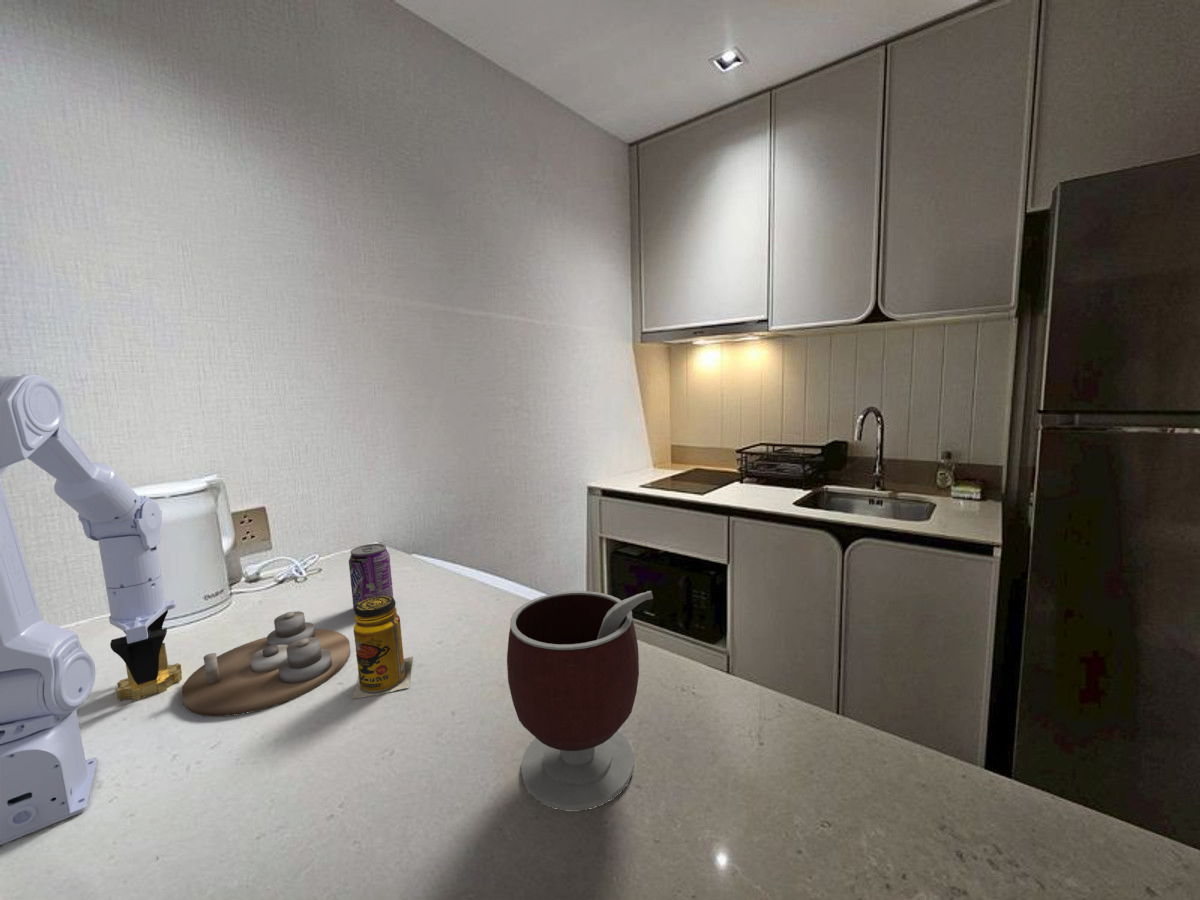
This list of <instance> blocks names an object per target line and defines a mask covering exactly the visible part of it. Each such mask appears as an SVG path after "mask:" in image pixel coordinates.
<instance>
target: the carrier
mask: <svg viewBox="0 0 1200 900" xmlns="http://www.w3.org/2000/svg"><path fill="white" fill-rule="evenodd" d="M273 624H274V630H272V631H270V633H269V634H268V635H267V636H265V637H262V638H259V639H255V640H252V641H250V642H247V643H244V644H242V645H238V646H236V647H235V648H232V649H229V650H228V651H225V652H224V653H221V654H219V655H218V656H217V653H216V652H212V653H211V652H210V653H208V654H205V655H204V656H203V665H201V666H200V667H199V668H197V669H196V670H195V671H194V672H192V674H191V675H190V676H188V678H187V679H186V680H185V682H184V683H183V684H182V685H183V686H182V688H181V697H182V698H181V699H182V703H183V706H184V708H185V707H186V708H185V709H186V710H187V709H188V710H187V711H189V712H190V711H191V712H190V713H193V714H195V713H196V714H195V715H198V714H199V715H200V716H204V717H227V715H230V716H237V715H236V714H238V715H243V714H242V713H244V714H248V713H247V712H249V713H253V712H252V711H254V712H258V711H261V709H262V710H265V709H268V708H272V707H274V706H277V705H281V704H283V703H287V702H288V701H291V700H293V699H296V698H299V697H300V696H302V695H305V694H307V693H309V692H311V691H312V690H314V689H316V688H317V687H320V686H321V685H323V684H324V683H326V682H327V681H329V680H330V679H332V678H333V677H334V676H335V675H336V674H338V673H339V672H340V671H341V670H342V669H343V668H344V666H345V665H346V664H347V663H348V662H349V659H350V657H351V645H350V640H349V638H348V637H347V636H346V635H345V634H343V633H341V632H338V631H336V630H331V629H322V628H315V625H314V623H312V622H308V621H306V619H305V613H304V612H303V611H299V610H298V611H289V612H288V611H287V612H285V613H283V614H280V615H278V616H277V617H275V618H274V619H273ZM257 710H258V711H257ZM234 714H235V715H234ZM199 715H198V716H199ZM225 715H226V716H225Z"/></svg>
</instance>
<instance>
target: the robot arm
mask: <svg viewBox="0 0 1200 900" xmlns="http://www.w3.org/2000/svg"><path fill="white" fill-rule="evenodd" d="M65 405H66V404H65V401H64V399H63V398H62V396H61V393H60V392H59V390H58V389H57V387H55V386H54V385H53V384H52V383H51V382H50V381H49V380H48V379H46V378H45V377H43V376H42V375H38V374H33V373H31V374H30V373H28V374H20V375H11V376H10V375H9V376H7V375H6V376H5V375H1V376H0V846H1V845H4V844H6V843H9V842H11V841H14V840H17V839H18V838H21V837H24V836H26V835H28V834H31V833H32V834H33V833H35V832H36V831H39V830H41V829H44V828H46V827H49V826H51V825H53V824H56V823H58V822H61V821H64V820H66V819H68V818H70V817H73V816H76V815H78V814H81V813H83V812H84V811H86V809H87V808H88V806H89V802H90V801H89V800H90V796H91V793H92V787H93V783H94V779H95V776H96V775H95V774H96V770H97V765H98V761H99V760H98V757H91V758H88V759H86V757H85V750H84V746H83V740H82V735H81V733H82V732H81V728H80V722H79V718H78V711H77V709H79V708H80V707H81V706H82V705H83V703H84V702H85V701H86V700H87V698H88V697H89V695H90V694H91V692H92V690H93V687H94V684H95V679H96V664H95V661H94V659H93V658H92V656H91V655H90V654H89V653H88V652H87V651H86V650H85V649H84V648H83V646H82V644H81V641H80V639H79V635H78V633H77V632H74V631H71V630H69V629H66V628H64V627H60V626H58V625H54V624H52V623H49V622H47V621H44V619H43V618H42V614H41V611H40V607H39V603H38V601H37V597H36V593H35V591H34V590H35V589H34V586H33V583H32V580H31V576H30V574H29V570H28V569H29V568H28V567H27V563H26V560H25V556H24V553H23V549H22V546H21V544H20V543H21V541H20V540H19V537H18V532H17V529H16V525H15V523H14V519H13V515H12V513H11V508H10V506H9V503H8V498H7V496H6V495H7V494H6V492H5V489H4V488H5V487H4V486H3V483H2V475H3V474H4V472H5V471H6V470H7V468H9V466H12V465H13V464H17V463H19V462H21V461H24V460H26V459H28V460H29V461H30V462H31V463H34V464H35V465H36V466H37V467H39V468H40V469H42V470H43V471H45V472H46V473H47V474H49V475H50V476H51V477H53V478H55V479H56V480H55V482H54V486H53V490H54V493H55V494H56V496H58V497H59V498H60V499H61V500H62V501H63V502H65V503H66V504H67V505H68V506H69V507H71V508H72V509H73V510H74V511H75V512H76V513H77V514H78V516H77V518H78V521H80V523H81V524H82V530H83V532H84V535H85V536H86V537H87V539H90V541H91V540H92V541H93V542H94V541H96V542H98V547H99V548H98V549H99V554H100V558H101V559H100V560H101V564H102V565H101V566H102V571H103V577H104V583H105V589H106V596H107V601H108V602H107V603H108V606H109V607H108V608H109V613H110V616H109V617H108V621H109V624H111V626H114V627H116V628H118V629H120V630H121V631H123V633H124V634H125V636H121V637H116V638H113V639H111V640H110V644H109V645H110V649H111V650H112V651H113V652H114V653H115V654H117V655H118V656H119V657H120V658H121V659H122V661H123V662H124V663H125V666H126V665H127V667H128V669H129V671H130V673H131V675H132V677H133V679H134V681H135V682H136V684H137V685H139V684H143V683H146V682H149V681H153V680H156V679H157V677H158V671H159V654H160V649H161V645H162V643H164V640H165V638H166V636H167V632H168V628H167V627H165V628H163V625H164V622H165V619H166V617H167V615H168V613H169V610H172V609H175V608H177V600H175V599H172V600H168V601H166V600H165V599H166V598H165V593H164V586H163V579H162V573H161V572H162V571H161V568H160V567H161V565H160V559H159V558H160V557H159V552H158V546H157V545H159V544H160V543H161V529H160V528H161V524H162V519H163V518H162V517H163V516H162V510H161V508H160V506H159V503H158V501H156V500H155V499H153V498H150V497H148V496H146V495H140V496H139V495H138V494H137V492H136V491H135V490H134V489H133V488H132V487H131V486H130V485H129V484H128V483H127V482H126V481H125V480H124V479H123V478H122V477H121V476H120V475H119V474H118V472H117V471H116V470H114V468H113V467H112V466H110V465H109V464H107V463H104V462H99V461H97V462H96V461H92V460H91V459H90V458H89V456H88V455H87V453H86V452H85V451H84V450H83V448H82V447H81V446H80V444H79V443H78V441H76V439H75V438H74V436H73V435H72V434H71V433H70V432H69V430H68V429H67V428H66V425H65V424H66V406H65Z"/></svg>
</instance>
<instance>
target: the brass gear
mask: <svg viewBox="0 0 1200 900" xmlns="http://www.w3.org/2000/svg"><path fill="white" fill-rule="evenodd" d="M125 668H126V674H127V677H126V678H123V679H120V680H118V682H117V683H116V685H117V686H116V687H117V688H115V692H116V700H118V701H120V702H121V701H122V700H130V699H131V700H132V701H133V702H134V701H140V700H142V699H143V698H145V697H150V696H151V695H155V694H162V693H164V692H165V691H167V690H168V688H170V687H172V686H173V685H174V684H177V682H178V683H180V682H181V680H183V675H182V674H183V672H182V665H181V663H178V662H177V663H174V664H169V661H168V655H167V649H166V643H165V642H163V643H162V645H161V649H160V654H159V671H158V677H157V679H156V680H153V681H149V682H146V683H143V684H139V685H137V684H136V682H135V681H134V679H133V677H132V675H131V673H130V671H129V669H128V667H127V665H126V664H125ZM181 673H182V674H181ZM161 692H162V693H161Z"/></svg>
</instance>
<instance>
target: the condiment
mask: <svg viewBox="0 0 1200 900" xmlns="http://www.w3.org/2000/svg"><path fill="white" fill-rule="evenodd" d="M396 602H397V601H396V599H395V598H394V596H393V597H390V596H376V597H371V598H368V599H365V600H363V601H361V602H360V603H358V604H357V605H356V607H355V611H354V613H355V618H354V619H355V624H354V625H353V636H354V641H355V644H354V645H355V652H356V653H355V654H356V655H355V656H356V662H357V663H356V664H357V672H358V677H357V678H358V679H357V683H356V686H355V689H354V693H353V695H352V698H351V700H355V699H360V698H365V697H367V698H368V697H371V696H372V697H373V696H378V695H382V694H383V695H384V694H386V693H387V694H388V693H391V692H395V691H399V690H404V689H409V688H410V686H411V685H410V683H411V677H412V667H413V659H414V655H413V656H408V657H406V658H404V650H403V649H404V648H403V647H404V646H403V639H402V638H403V637H402V628H401V617H400V616H399V614H398V613H397V608H396Z"/></svg>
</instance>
